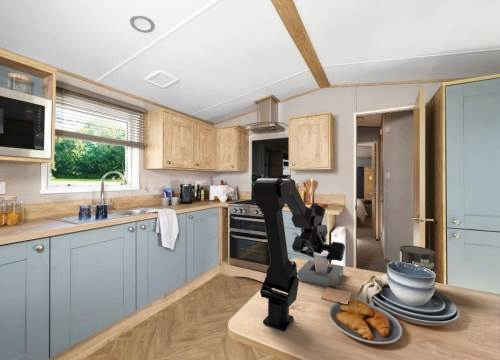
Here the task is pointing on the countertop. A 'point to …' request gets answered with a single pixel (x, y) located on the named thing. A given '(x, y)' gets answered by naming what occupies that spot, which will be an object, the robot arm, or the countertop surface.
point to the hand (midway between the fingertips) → (322, 258)
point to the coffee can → (418, 256)
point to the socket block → (321, 275)
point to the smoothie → (321, 261)
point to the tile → (336, 295)
